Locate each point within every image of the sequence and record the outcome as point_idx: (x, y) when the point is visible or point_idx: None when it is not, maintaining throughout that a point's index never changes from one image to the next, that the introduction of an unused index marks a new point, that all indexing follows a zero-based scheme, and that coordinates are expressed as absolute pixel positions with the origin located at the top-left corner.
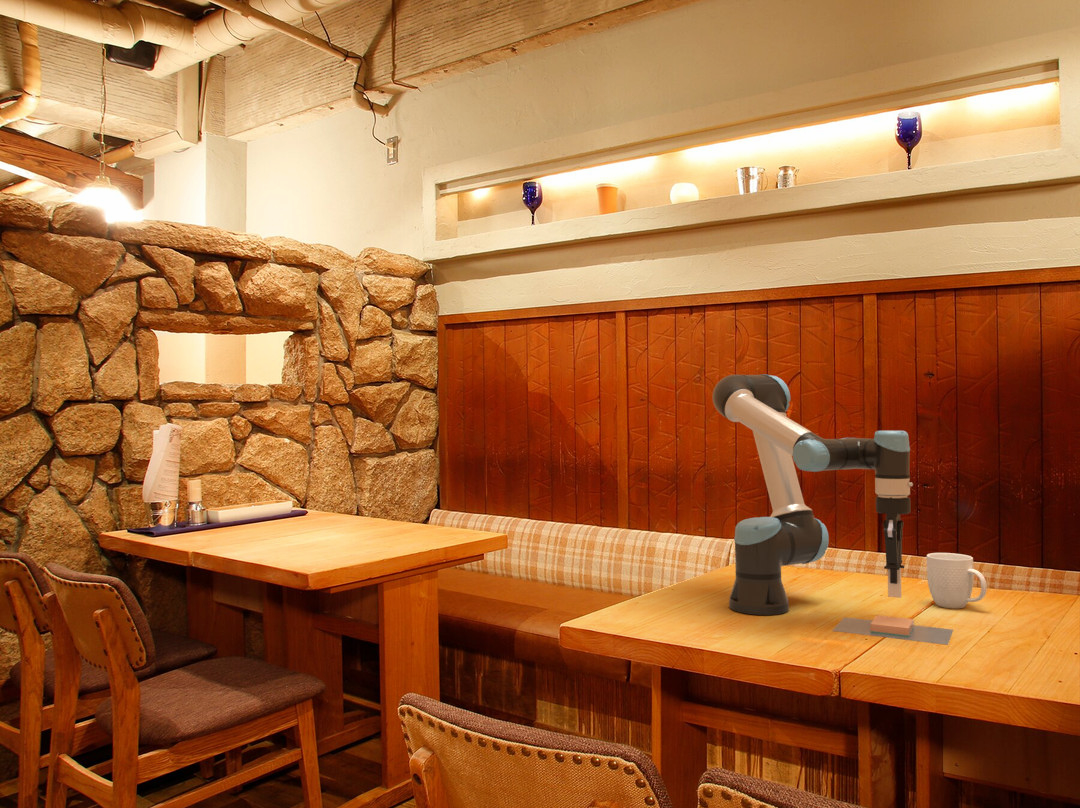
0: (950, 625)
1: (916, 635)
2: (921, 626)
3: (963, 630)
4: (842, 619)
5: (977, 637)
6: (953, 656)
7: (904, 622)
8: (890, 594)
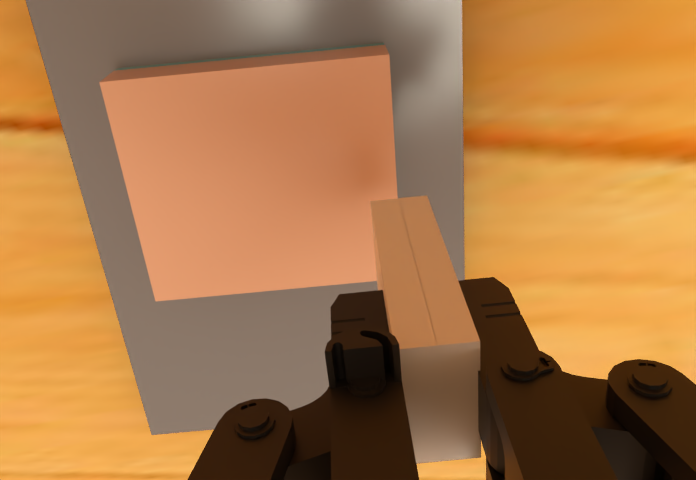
0: (639, 352)
1: (232, 296)
2: None
3: None
4: None
5: (451, 470)
6: (60, 451)
7: (282, 253)
8: (373, 227)
